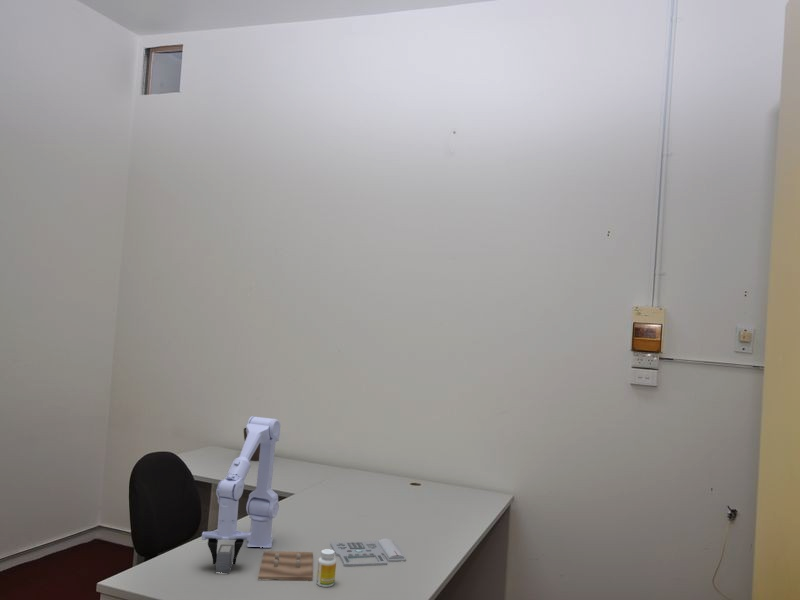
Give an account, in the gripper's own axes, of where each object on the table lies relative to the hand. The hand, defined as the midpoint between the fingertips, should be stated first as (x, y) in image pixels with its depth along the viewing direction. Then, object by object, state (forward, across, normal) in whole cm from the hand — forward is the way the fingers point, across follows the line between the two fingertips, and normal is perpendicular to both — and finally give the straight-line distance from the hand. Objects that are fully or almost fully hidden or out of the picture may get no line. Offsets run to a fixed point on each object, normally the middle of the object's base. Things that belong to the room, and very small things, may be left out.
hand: (224, 563), depth 194 cm
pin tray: (+2, +19, +2) cm, 19 cm away
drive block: (+2, 0, 0) cm, 2 cm away
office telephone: (+2, +46, +14) cm, 48 cm away
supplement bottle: (+2, +31, -10) cm, 33 cm away
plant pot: (+2, -4, +143) cm, 143 cm away
